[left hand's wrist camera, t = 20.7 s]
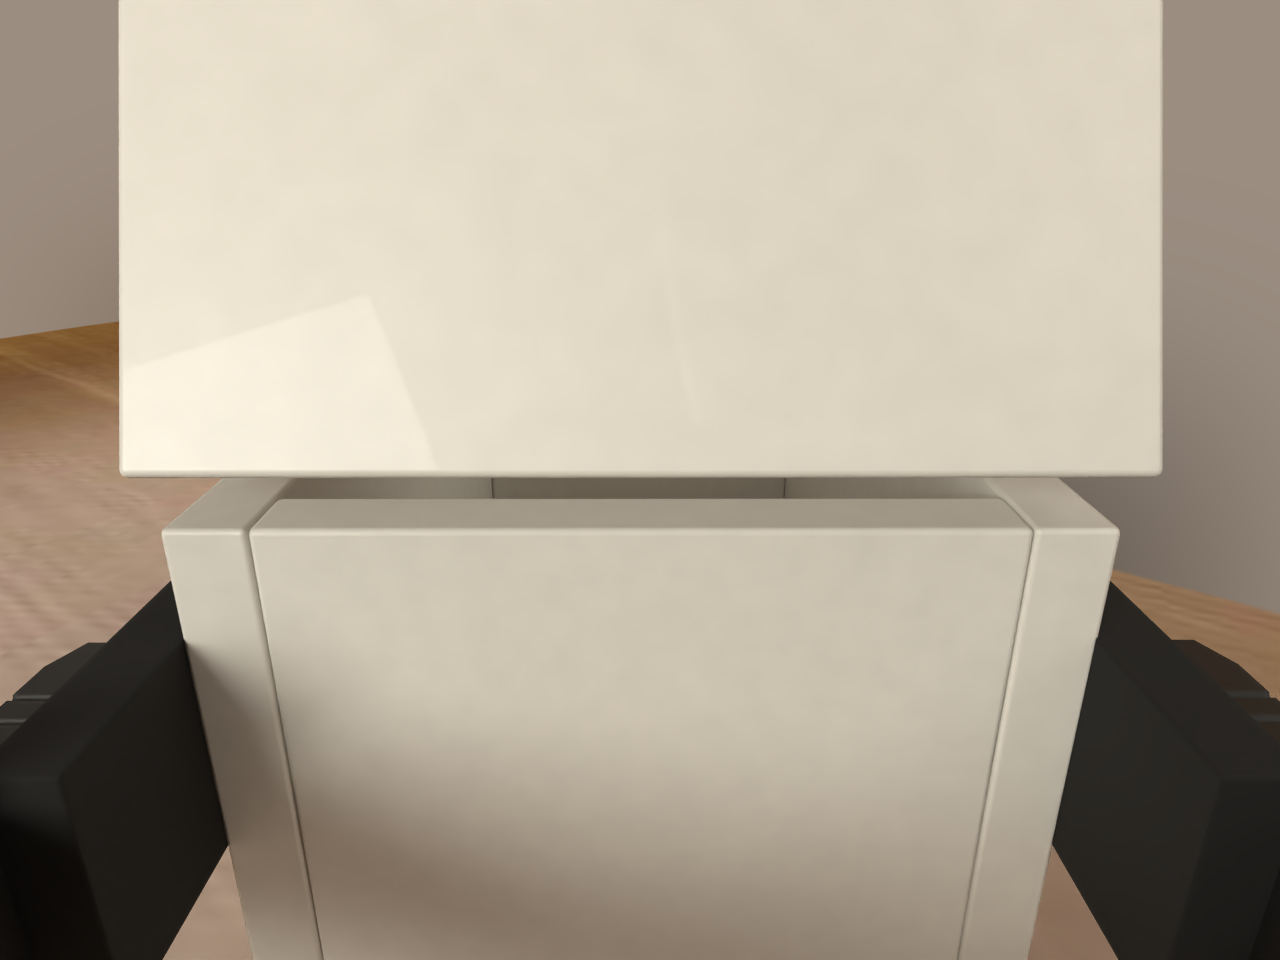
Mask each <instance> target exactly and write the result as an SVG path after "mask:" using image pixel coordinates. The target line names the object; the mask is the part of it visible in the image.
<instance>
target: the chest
mask: <svg viewBox="0 0 1280 960" xmlns="http://www.w3.org/2000/svg"><path fill="white" fill-rule="evenodd" d="M1119 537H1120V531H1119V529H1118V528H1117V527H1116V526H1115V525H1114V524H1112V523H1111V522H1110V521H1109V520H1108V519H1107V518H1105V517H1104V516H1103V515H1102V514H1101V513H1099V512H1098V511H1097V510H1096V509H1095V508H1093V507H1092V506H1091V505H1090V504H1089V503H1087V502H1086V501H1085V500H1084V499H1083V498H1081V497H1080V496H1079V495H1078V494H1077V493H1075V492H1074V491H1073V490H1072V489H1071V488H1069V487H1068V486H1067V485H1066V484H1065V483H1064V482H1062V481H1061V480H1060V479H1059V478H222V479H221V480H220V481H219V482H218V483H217V484H215V485H214V486H213V487H212V488H211V489H210V490H208V491H207V492H206V493H205V494H204V495H203V496H201V497H200V498H199V499H198V500H197V501H195V502H194V503H193V504H192V505H191V506H190V507H188V508H187V509H186V510H185V511H184V512H183V513H181V514H180V515H179V516H178V517H177V518H176V519H174V520H173V521H172V522H171V523H170V524H169V525H167V526H166V527H165V528H164V529H163V530H162V540H163V545H164V549H165V554H166V558H167V563H168V568H169V572H170V577H171V582H172V586H173V591H174V596H175V600H176V605H177V609H178V614H179V619H180V623H181V628H182V633H183V637H184V642H185V646H186V651H187V656H188V660H189V665H190V670H191V674H192V679H193V684H194V688H195V693H196V697H197V702H198V707H199V711H200V716H201V721H202V725H203V730H204V734H205V739H206V744H207V748H208V753H209V758H210V762H211V767H212V771H213V776H214V781H215V785H216V790H217V795H218V799H219V804H220V809H221V813H222V818H223V822H224V827H225V832H226V836H227V841H228V846H229V850H230V855H231V859H232V864H233V869H234V873H235V878H236V883H237V887H238V892H239V897H240V901H241V906H242V910H243V915H244V920H245V924H246V929H247V934H248V938H249V943H250V947H251V952H252V957H253V960H1027V959H1028V954H1029V949H1030V945H1031V940H1032V936H1033V931H1034V926H1035V922H1036V917H1037V913H1038V908H1039V904H1040V899H1041V894H1042V890H1043V885H1044V881H1045V876H1046V872H1047V867H1048V862H1049V858H1050V853H1051V849H1052V840H1053V835H1054V830H1055V826H1056V821H1057V816H1058V812H1059V807H1060V803H1061V798H1062V793H1063V789H1064V784H1065V780H1066V775H1067V770H1068V766H1069V761H1070V757H1071V752H1072V747H1073V743H1074V738H1075V734H1076V729H1077V724H1078V720H1079V715H1080V710H1081V706H1082V701H1083V697H1084V692H1085V687H1086V683H1087V678H1088V674H1089V669H1090V664H1091V660H1092V655H1093V651H1094V646H1095V641H1096V638H1098V633H1099V629H1100V624H1101V620H1102V615H1103V610H1104V606H1105V601H1106V597H1107V592H1108V587H1109V583H1110V578H1111V574H1112V569H1113V564H1114V560H1115V555H1116V551H1117V546H1118V542H1119Z"/></svg>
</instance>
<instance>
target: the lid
mask: <svg viewBox="0 0 1280 960" xmlns="http://www.w3.org/2000/svg"><path fill="white" fill-rule="evenodd" d="M1162 469H1163V0H119V470H120V472H121V475H123V476H125V477H128V478H1129V477H1130V478H1133V477H1134V478H1135V477H1136V478H1138V477H1139V478H1143V477H1144V478H1145V477H1155V476H1158V475H1160V474H1161V472H1162Z"/></svg>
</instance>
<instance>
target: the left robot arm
mask: <svg viewBox="0 0 1280 960" xmlns="http://www.w3.org/2000/svg"><path fill="white" fill-rule="evenodd" d="M1052 845H1053V846H1054V848H1055V850H1056V852H1057V853H1058V855H1059V857H1060V859H1061V860H1062V862H1063V864H1064V866H1065V867H1066V869H1067V871H1068V873H1069V874H1070V876H1071V878H1072V880H1073V881H1074V883H1075V885H1076V886H1077V888H1078V890H1079V892H1080V893H1081V895H1082V897H1083V899H1084V900H1085V902H1086V904H1087V906H1088V907H1089V909H1090V911H1091V913H1092V914H1093V916H1094V918H1095V920H1096V921H1097V923H1098V925H1099V927H1100V928H1101V930H1102V932H1103V933H1104V935H1105V937H1106V939H1107V940H1108V942H1109V944H1110V946H1111V947H1112V949H1113V951H1114V953H1115V954H1116V956H1117V958H1118V960H1280V701H1278V700H1277V699H1276V698H1270V696H1269V692H1268V691H1267V690H1266V689H1265V688H1264V687H1263V686H1262V685H1261V684H1259V683H1258V682H1257V681H1256V680H1255V679H1254V678H1253V677H1252V676H1251V675H1249V674H1248V673H1247V672H1246V671H1245V670H1244V669H1243V668H1242V667H1241V666H1239V665H1238V664H1237V663H1235V662H1233V661H1231V660H1229V659H1228V658H1226V657H1224V656H1222V655H1220V654H1218V653H1217V652H1215V651H1213V650H1211V649H1209V648H1207V647H1206V646H1204V645H1202V644H1200V643H1198V642H1196V641H1195V640H1171V639H1170V638H1169V637H1168V636H1167V635H1166V634H1165V633H1164V632H1163V631H1162V630H1161V629H1160V628H1159V627H1158V626H1157V625H1156V624H1154V623H1153V622H1152V621H1151V620H1150V619H1149V618H1148V617H1147V616H1146V615H1145V614H1144V613H1143V612H1142V611H1141V610H1140V609H1139V608H1138V607H1137V606H1136V605H1135V604H1134V603H1133V602H1132V601H1131V600H1130V599H1129V598H1127V597H1126V596H1125V595H1124V594H1123V593H1122V592H1121V591H1120V590H1119V589H1118V588H1117V587H1116V586H1115V585H1114V584H1113V583H1112V582H1111V581H1110V583H1109V587H1108V592H1107V597H1106V601H1105V606H1104V610H1103V615H1102V620H1101V624H1100V629H1099V633H1098V638H1096V641H1095V646H1094V651H1093V655H1092V660H1091V664H1090V669H1089V674H1088V678H1087V683H1086V687H1085V692H1084V697H1083V701H1082V706H1081V710H1080V715H1079V720H1078V724H1077V729H1076V734H1075V738H1074V743H1073V747H1072V752H1071V757H1070V761H1069V766H1068V770H1067V775H1066V780H1065V784H1064V789H1063V793H1062V798H1061V803H1060V807H1059V812H1058V816H1057V821H1056V826H1055V830H1054V835H1053V840H1052ZM227 846H228V841H227V836H226V832H225V827H224V822H223V818H222V813H221V809H220V804H219V799H218V795H217V790H216V785H215V781H214V776H213V771H212V767H211V762H210V758H209V753H208V748H207V744H206V739H205V734H204V730H203V725H202V721H201V716H200V711H199V707H198V702H197V697H196V693H195V688H194V684H193V679H192V674H191V670H190V665H189V660H188V656H187V651H186V646H185V642H184V637H183V633H182V628H181V623H180V619H179V614H178V609H177V605H176V600H175V596H174V591H173V586H172V582H171V581H170V582H169V583H168V584H167V585H166V586H165V587H164V588H163V589H162V590H161V591H160V592H159V593H158V594H157V595H156V596H155V597H153V598H152V599H151V600H150V601H149V602H148V603H147V604H146V605H145V606H144V607H143V608H142V609H141V610H140V611H139V612H138V613H137V614H136V615H135V616H134V617H133V618H132V619H131V620H130V621H129V622H128V623H127V624H125V625H124V626H123V627H122V628H121V629H120V630H119V631H118V632H117V633H116V634H115V635H114V636H113V637H112V638H111V639H110V640H109V641H108V642H107V643H87V644H85V645H83V646H82V647H80V648H78V649H76V650H74V651H72V652H71V653H69V654H67V655H65V656H63V657H61V658H60V659H58V660H56V661H54V662H52V663H51V664H49V665H47V666H45V667H44V668H43V669H41V670H40V671H39V672H38V673H37V674H36V675H35V676H34V677H33V678H32V679H30V680H29V681H28V682H27V683H26V684H25V685H24V686H23V687H22V688H20V689H19V690H18V691H17V692H16V693H15V694H14V695H13V700H12V701H6V702H5V703H4V704H3V705H2V706H1V707H0V960H163V958H164V956H165V954H166V953H167V951H168V949H169V947H170V946H171V944H172V942H173V940H174V939H175V937H176V935H177V933H178V932H179V930H180V928H181V926H182V925H183V923H184V921H185V919H186V918H187V916H188V914H189V912H190V911H191V909H192V907H193V906H194V904H195V902H196V900H197V899H198V897H199V895H200V893H201V892H202V890H203V888H204V886H205V885H206V883H207V881H208V879H209V878H210V876H211V874H212V872H213V871H214V869H215V867H216V865H217V864H218V862H219V860H220V858H221V857H222V855H223V853H224V852H225V850H226V848H227Z"/></svg>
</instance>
